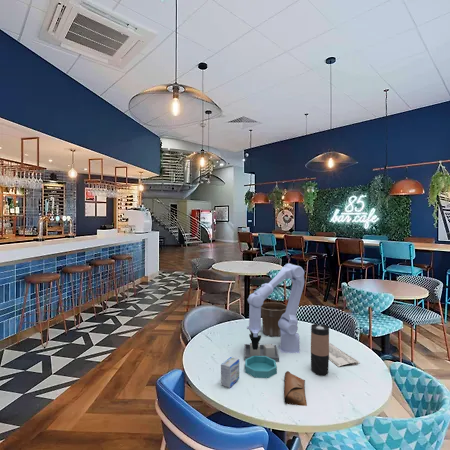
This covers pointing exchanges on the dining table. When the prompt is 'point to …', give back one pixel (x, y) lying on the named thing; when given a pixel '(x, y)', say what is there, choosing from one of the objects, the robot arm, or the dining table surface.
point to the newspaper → (340, 357)
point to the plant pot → (272, 318)
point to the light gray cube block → (269, 350)
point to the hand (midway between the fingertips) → (254, 345)
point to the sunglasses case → (294, 390)
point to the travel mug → (319, 349)
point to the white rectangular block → (254, 352)
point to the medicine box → (230, 372)
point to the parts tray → (247, 352)
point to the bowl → (260, 366)
